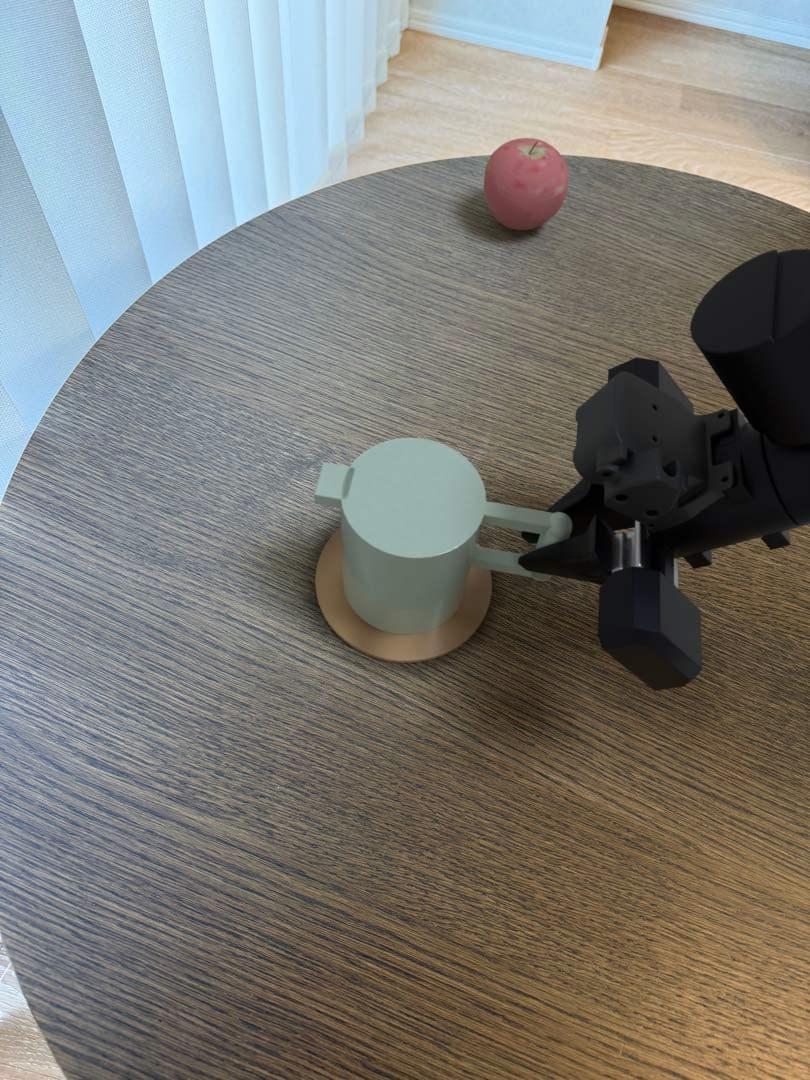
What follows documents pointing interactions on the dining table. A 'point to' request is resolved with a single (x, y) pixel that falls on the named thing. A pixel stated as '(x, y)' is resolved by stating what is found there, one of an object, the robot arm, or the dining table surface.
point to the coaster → (389, 643)
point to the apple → (525, 183)
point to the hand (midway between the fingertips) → (523, 550)
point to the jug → (420, 531)
